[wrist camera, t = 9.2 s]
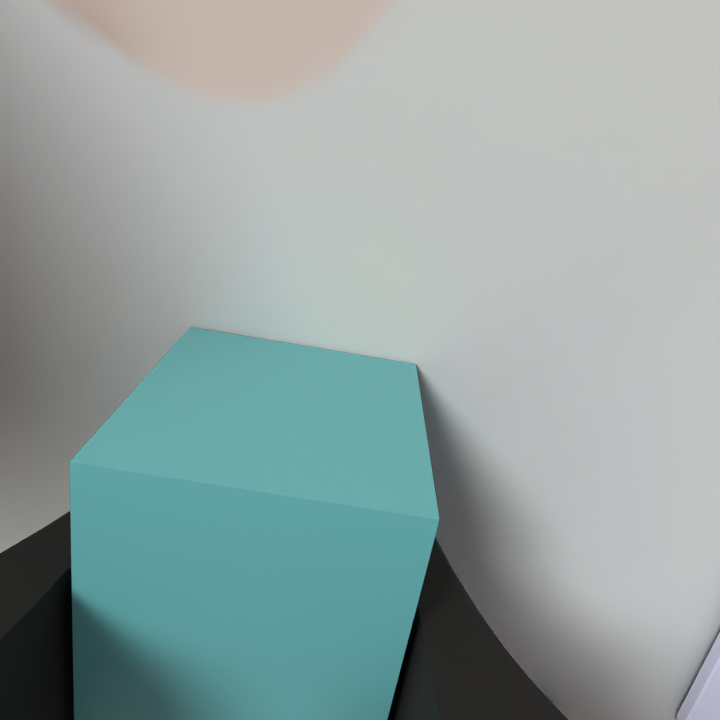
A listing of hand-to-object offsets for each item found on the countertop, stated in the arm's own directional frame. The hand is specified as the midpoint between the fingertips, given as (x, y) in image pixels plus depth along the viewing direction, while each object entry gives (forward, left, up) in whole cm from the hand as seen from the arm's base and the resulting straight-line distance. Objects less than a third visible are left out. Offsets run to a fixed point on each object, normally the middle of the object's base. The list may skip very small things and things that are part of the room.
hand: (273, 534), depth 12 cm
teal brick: (0, 0, -1) cm, 1 cm away
